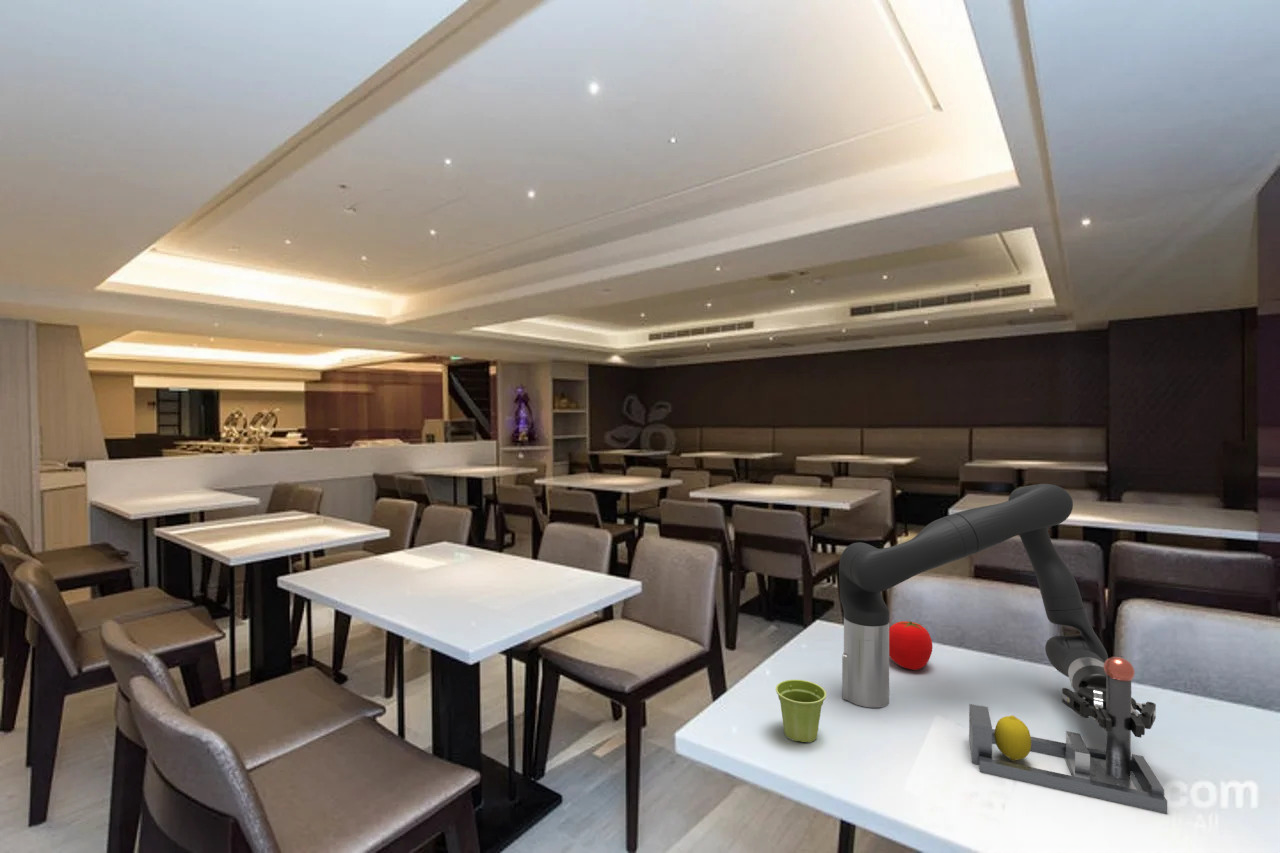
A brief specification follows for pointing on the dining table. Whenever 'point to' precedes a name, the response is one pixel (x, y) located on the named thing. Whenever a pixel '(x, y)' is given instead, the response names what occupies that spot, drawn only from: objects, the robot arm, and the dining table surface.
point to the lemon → (1012, 738)
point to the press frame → (982, 755)
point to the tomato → (909, 645)
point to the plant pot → (800, 708)
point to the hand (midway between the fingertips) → (1123, 728)
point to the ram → (1117, 740)
